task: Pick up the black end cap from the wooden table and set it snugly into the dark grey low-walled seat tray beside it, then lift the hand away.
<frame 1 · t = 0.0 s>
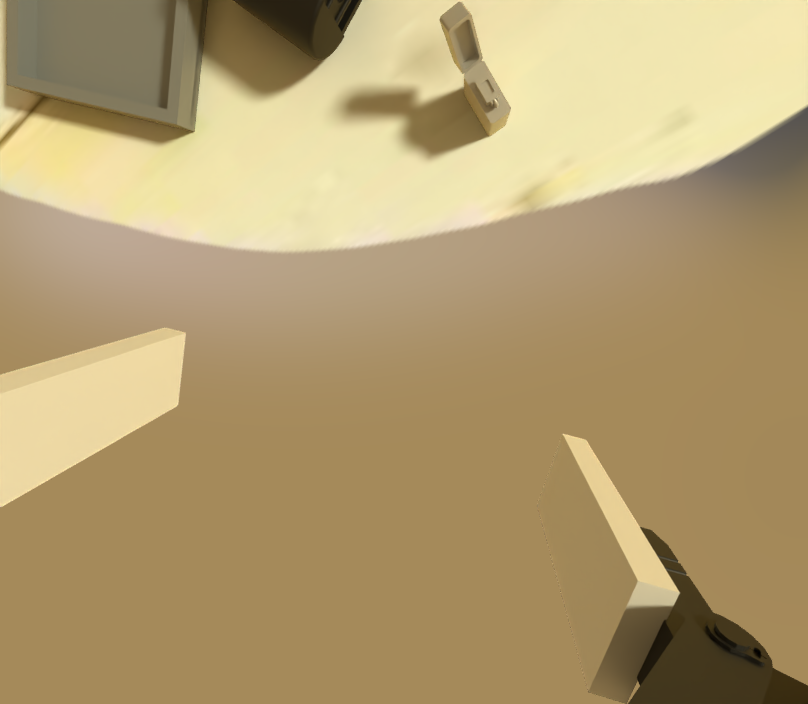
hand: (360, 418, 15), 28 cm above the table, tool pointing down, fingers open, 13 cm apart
lighter: (475, 93, 38), on the table
seat tray: (119, 1, 39), on the table
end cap: (301, 0, 38), on the table
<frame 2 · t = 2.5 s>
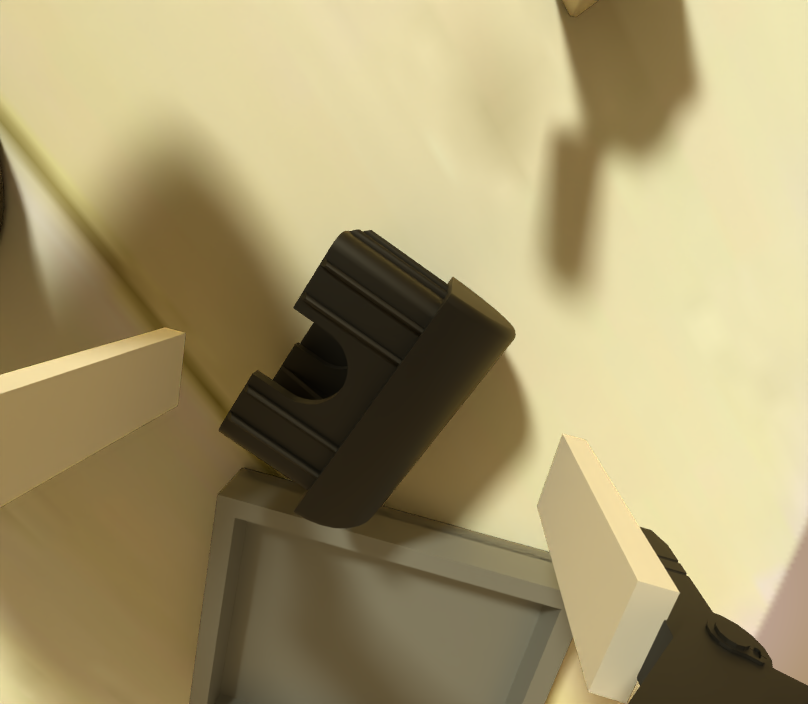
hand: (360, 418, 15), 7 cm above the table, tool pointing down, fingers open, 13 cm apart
seat tray: (373, 630, 26), on the table
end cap: (384, 353, 22), on the table
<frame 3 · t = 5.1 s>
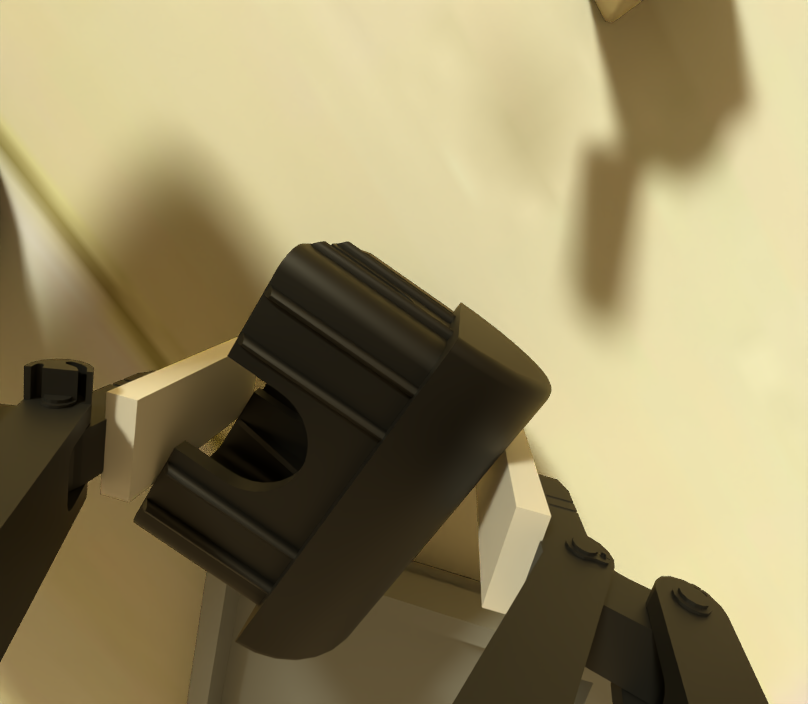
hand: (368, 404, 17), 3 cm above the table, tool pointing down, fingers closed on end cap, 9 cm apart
seat tray: (380, 690, 23), on the table
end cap: (373, 399, 17), point 3 cm above the table, touching gripper
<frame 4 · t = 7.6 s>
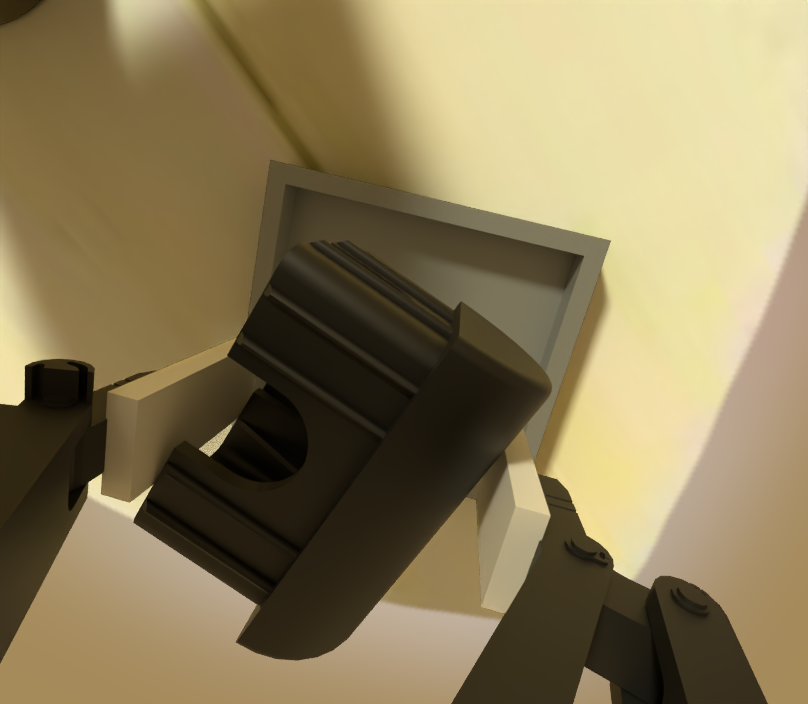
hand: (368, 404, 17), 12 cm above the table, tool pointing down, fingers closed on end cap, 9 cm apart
seat tray: (406, 336, 28), on the table
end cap: (373, 398, 17), point 11 cm above the table, touching gripper
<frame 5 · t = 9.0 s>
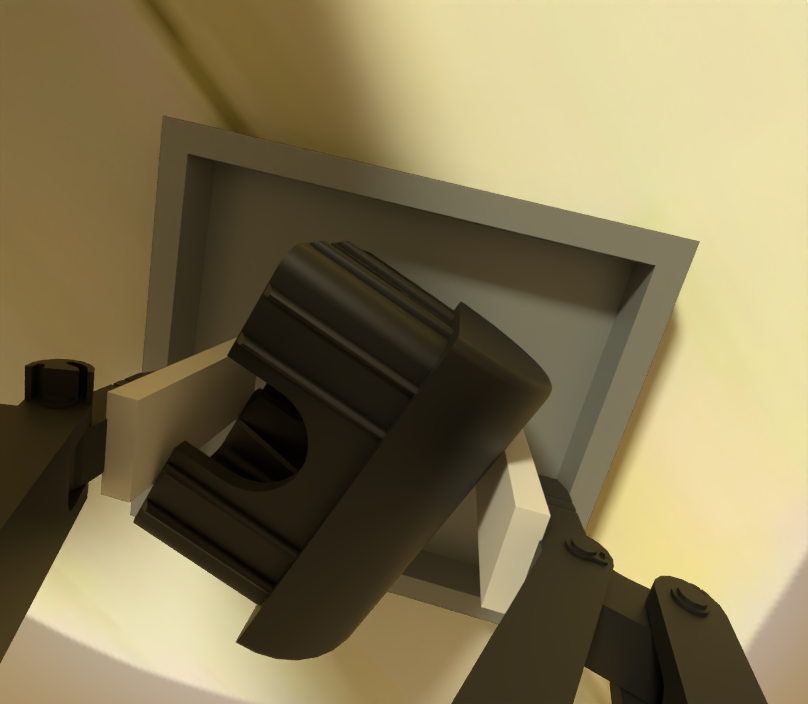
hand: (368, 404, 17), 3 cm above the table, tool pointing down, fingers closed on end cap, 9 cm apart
seat tray: (381, 379, 19), on the table
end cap: (373, 398, 17), point 2 cm above the table, touching gripper
when the fingers open (2 cm above the table, at t = 10.0 s): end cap drops 1 cm, resting on seat tray.
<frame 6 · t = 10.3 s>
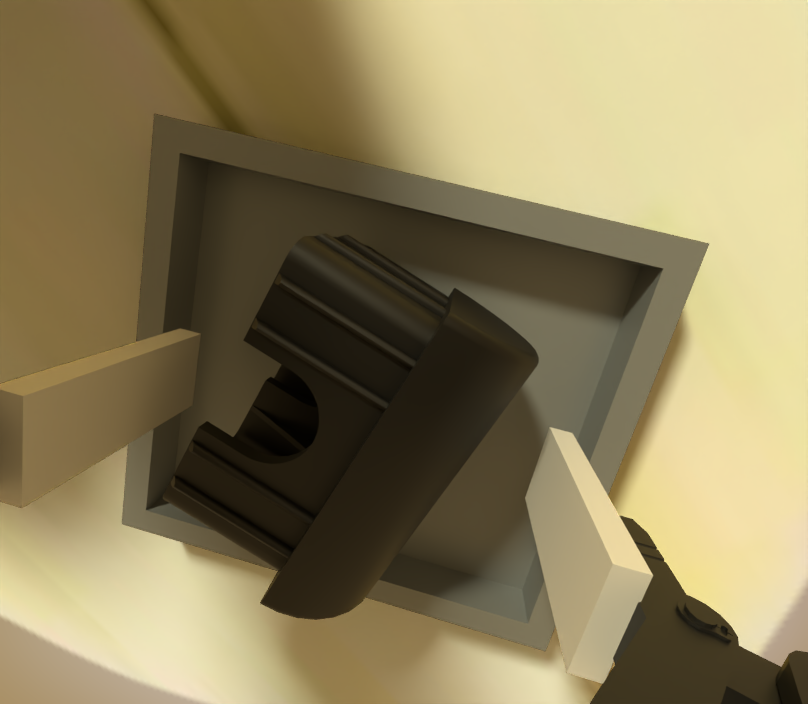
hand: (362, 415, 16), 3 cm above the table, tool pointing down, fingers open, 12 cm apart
seat tray: (380, 384, 19), on the table
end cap: (376, 384, 18), point 1 cm above the table, touching seat tray
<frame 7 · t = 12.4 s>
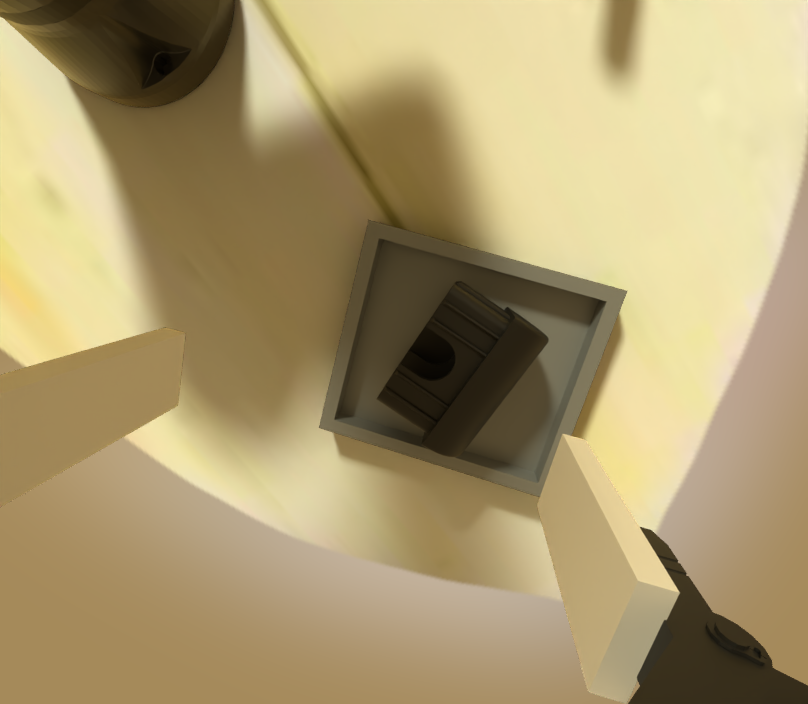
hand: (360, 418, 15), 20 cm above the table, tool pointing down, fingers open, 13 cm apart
seat tray: (461, 356, 35), on the table
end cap: (461, 355, 34), point 1 cm above the table, touching seat tray
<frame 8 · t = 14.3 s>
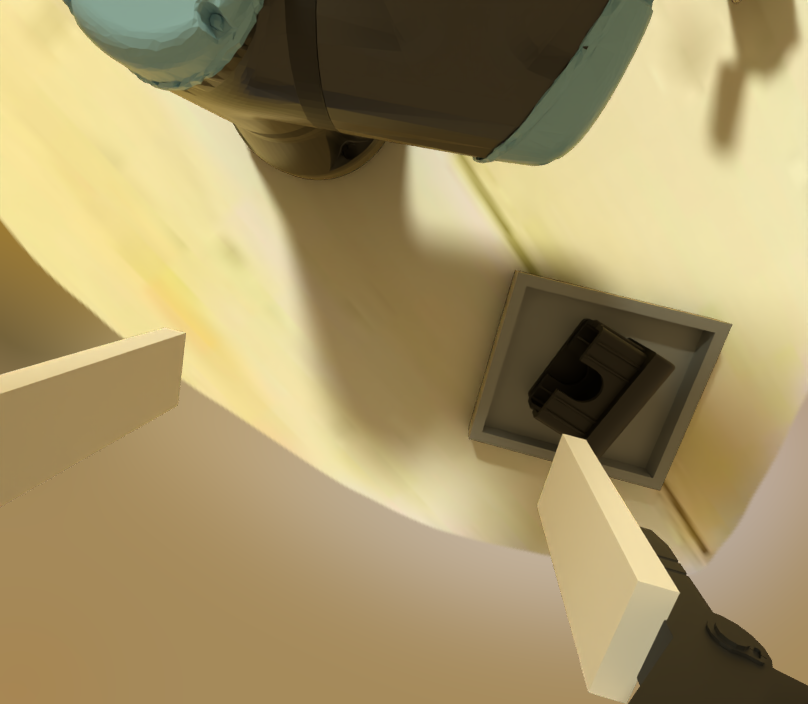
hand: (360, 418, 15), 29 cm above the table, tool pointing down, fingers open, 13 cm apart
seat tray: (584, 376, 43), on the table
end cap: (585, 376, 42), point 1 cm above the table, touching seat tray
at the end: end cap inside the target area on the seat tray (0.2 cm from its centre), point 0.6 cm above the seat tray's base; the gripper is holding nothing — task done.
